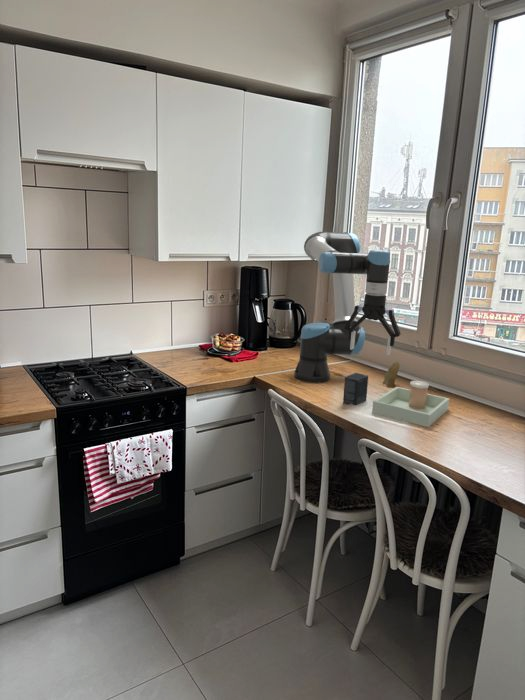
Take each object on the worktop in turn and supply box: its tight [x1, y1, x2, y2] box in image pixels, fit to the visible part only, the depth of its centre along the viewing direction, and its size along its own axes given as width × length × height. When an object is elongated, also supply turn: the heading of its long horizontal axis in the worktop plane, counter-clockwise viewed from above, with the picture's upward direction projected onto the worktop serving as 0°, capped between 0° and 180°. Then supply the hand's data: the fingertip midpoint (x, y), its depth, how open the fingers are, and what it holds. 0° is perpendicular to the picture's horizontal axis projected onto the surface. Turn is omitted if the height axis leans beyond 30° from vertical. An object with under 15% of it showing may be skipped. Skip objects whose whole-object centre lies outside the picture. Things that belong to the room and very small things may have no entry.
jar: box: [409, 380, 430, 409], centre depth 195 cm, size 7×7×9 cm
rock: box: [382, 361, 401, 389], centre depth 221 cm, size 11×9×10 cm
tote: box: [371, 386, 450, 428], centre depth 190 cm, size 20×22×5 cm
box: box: [342, 372, 369, 406], centre depth 197 cm, size 8×6×11 cm
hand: (369, 351), depth 195 cm, fingers open, 13 cm apart
